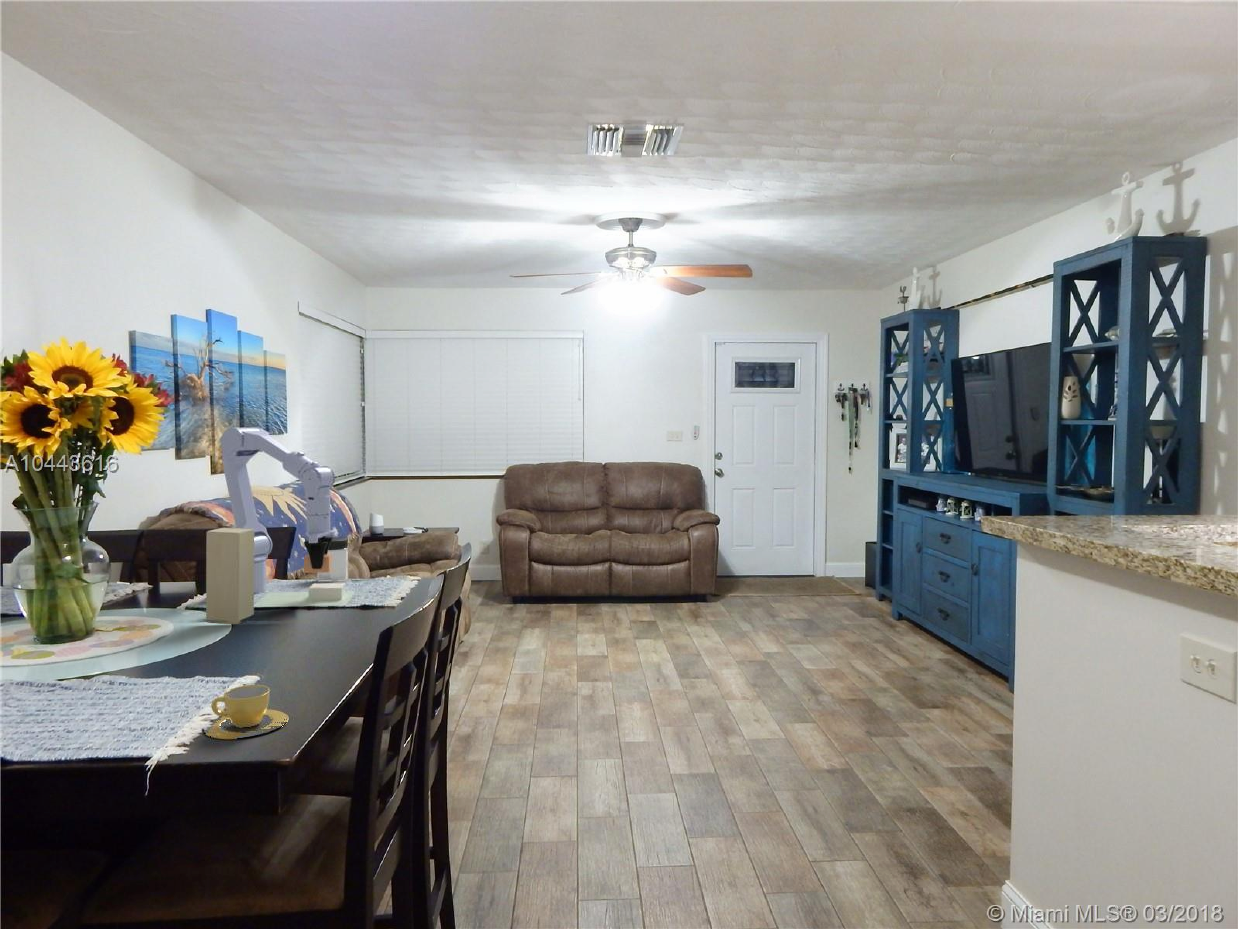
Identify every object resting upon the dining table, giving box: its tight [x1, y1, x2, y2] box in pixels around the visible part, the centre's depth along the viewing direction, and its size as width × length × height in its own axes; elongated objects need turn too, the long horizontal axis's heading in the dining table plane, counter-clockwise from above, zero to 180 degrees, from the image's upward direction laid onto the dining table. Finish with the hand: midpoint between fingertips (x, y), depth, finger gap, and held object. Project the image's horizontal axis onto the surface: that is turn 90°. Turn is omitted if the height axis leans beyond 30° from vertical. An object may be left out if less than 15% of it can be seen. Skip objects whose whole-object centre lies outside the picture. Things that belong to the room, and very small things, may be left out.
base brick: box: [308, 582, 346, 600], centre depth 206 cm, size 8×6×3 cm
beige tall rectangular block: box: [205, 527, 255, 625], centre depth 184 cm, size 8×7×21 cm
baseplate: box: [254, 590, 356, 608], centre depth 204 cm, size 22×16×1 cm
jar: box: [316, 536, 349, 583], centre depth 231 cm, size 9×8×12 cm
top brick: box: [303, 554, 332, 574], centre depth 204 cm, size 6×4×4 cm, turn 100°
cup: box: [205, 684, 289, 740], centre depth 123 cm, size 12×12×5 cm
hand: (318, 567), depth 205 cm, fingers closed on top brick, 4 cm apart
